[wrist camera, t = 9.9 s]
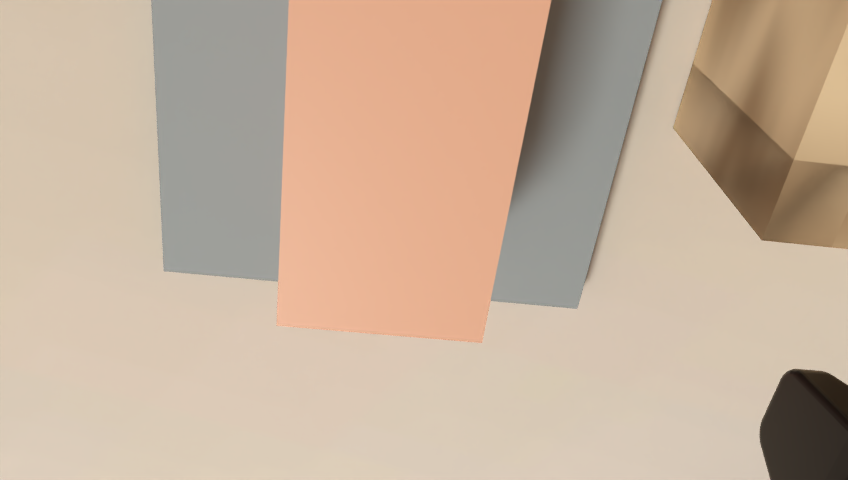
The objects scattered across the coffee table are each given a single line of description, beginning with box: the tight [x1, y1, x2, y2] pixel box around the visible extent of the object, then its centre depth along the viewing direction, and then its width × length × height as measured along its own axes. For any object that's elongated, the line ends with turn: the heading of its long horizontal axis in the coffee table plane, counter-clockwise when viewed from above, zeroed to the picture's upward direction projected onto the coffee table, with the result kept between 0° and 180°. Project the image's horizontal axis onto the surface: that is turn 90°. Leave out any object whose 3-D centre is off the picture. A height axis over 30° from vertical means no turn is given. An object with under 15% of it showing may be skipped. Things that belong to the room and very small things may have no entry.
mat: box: [151, 0, 662, 309], centre depth 17 cm, size 10×10×1 cm
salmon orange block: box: [277, 0, 551, 343], centre depth 14 cm, size 9×4×4 cm, turn 173°
